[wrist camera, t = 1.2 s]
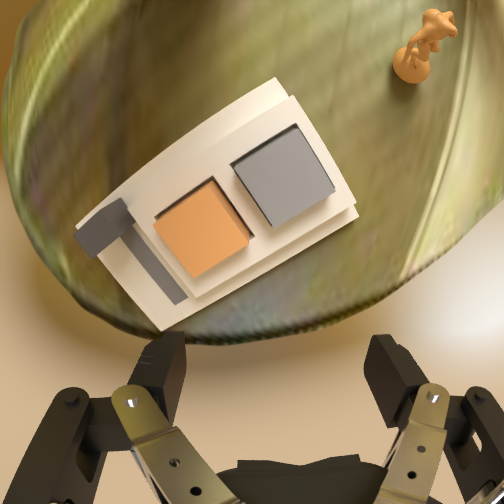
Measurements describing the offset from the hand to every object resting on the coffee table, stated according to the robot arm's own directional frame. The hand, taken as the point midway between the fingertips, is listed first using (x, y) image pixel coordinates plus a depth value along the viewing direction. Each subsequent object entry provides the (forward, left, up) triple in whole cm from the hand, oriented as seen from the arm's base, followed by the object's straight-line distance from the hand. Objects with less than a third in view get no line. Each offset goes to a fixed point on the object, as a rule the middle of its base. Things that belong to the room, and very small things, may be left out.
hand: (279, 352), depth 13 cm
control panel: (-3, -5, -21) cm, 22 cm away
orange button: (-3, -5, -18) cm, 19 cm away
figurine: (-7, +21, -21) cm, 31 cm away
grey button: (-3, +4, -18) cm, 19 cm away
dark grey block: (-9, -13, -19) cm, 25 cm away
